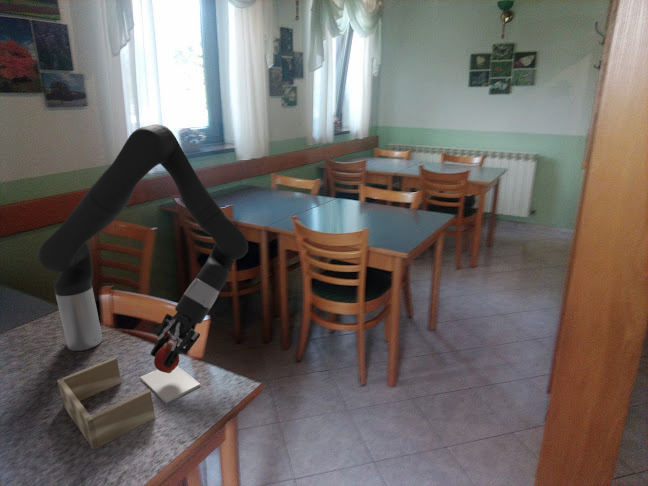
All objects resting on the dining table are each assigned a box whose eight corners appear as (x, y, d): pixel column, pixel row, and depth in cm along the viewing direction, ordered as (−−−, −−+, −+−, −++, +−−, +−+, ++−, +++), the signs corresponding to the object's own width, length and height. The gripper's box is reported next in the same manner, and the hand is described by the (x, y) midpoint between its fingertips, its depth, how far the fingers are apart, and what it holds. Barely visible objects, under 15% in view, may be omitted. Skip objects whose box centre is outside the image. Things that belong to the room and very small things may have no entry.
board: (140, 379, 112) (140, 377, 112) (173, 364, 118) (173, 362, 118) (166, 403, 102) (165, 401, 102) (200, 385, 108) (200, 383, 108)
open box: (63, 405, 102) (57, 380, 100) (119, 381, 111) (115, 357, 109) (93, 449, 89) (87, 421, 87) (155, 417, 98) (150, 391, 96)
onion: (155, 381, 106) (150, 352, 104) (157, 368, 111) (152, 340, 109) (180, 377, 107) (176, 348, 105) (181, 364, 113) (177, 336, 110)
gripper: (173, 286, 113) (134, 345, 109) (202, 302, 104) (161, 367, 99) (193, 298, 119) (158, 355, 114) (223, 315, 109) (185, 377, 105)
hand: (159, 360), depth 107 cm, fingers closed on onion, 5 cm apart
